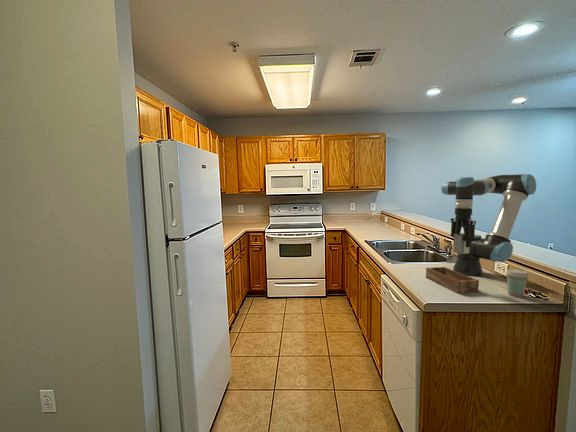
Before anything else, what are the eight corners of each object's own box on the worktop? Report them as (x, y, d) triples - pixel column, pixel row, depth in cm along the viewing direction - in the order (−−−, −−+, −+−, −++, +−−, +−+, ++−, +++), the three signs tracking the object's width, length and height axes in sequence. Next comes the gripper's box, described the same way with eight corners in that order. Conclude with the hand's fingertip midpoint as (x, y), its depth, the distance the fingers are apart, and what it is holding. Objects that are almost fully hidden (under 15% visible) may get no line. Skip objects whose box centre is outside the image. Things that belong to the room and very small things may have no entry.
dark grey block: (461, 251, 150) (462, 233, 148) (469, 253, 145) (470, 234, 144) (453, 251, 148) (454, 233, 147) (461, 253, 144) (462, 235, 143)
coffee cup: (527, 300, 130) (529, 274, 129) (503, 295, 136) (505, 271, 134) (527, 294, 137) (529, 270, 135) (505, 290, 142) (506, 267, 141)
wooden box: (443, 276, 164) (443, 266, 164) (478, 292, 140) (478, 280, 140) (425, 278, 162) (426, 267, 162) (457, 293, 139) (458, 281, 138)
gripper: (444, 206, 152) (442, 248, 155) (472, 209, 135) (470, 256, 137) (455, 206, 154) (453, 247, 156) (485, 208, 136) (482, 255, 139)
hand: (461, 251), depth 147 cm, fingers closed on dark grey block, 5 cm apart
